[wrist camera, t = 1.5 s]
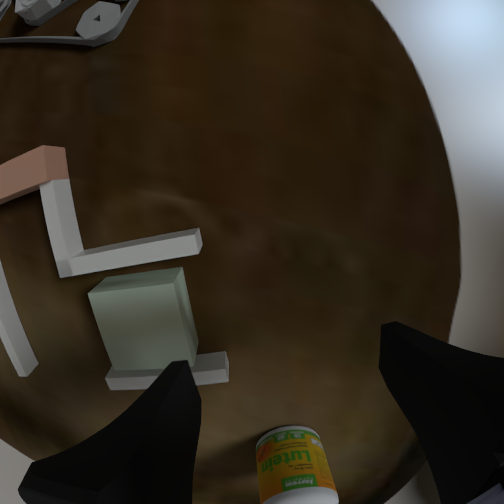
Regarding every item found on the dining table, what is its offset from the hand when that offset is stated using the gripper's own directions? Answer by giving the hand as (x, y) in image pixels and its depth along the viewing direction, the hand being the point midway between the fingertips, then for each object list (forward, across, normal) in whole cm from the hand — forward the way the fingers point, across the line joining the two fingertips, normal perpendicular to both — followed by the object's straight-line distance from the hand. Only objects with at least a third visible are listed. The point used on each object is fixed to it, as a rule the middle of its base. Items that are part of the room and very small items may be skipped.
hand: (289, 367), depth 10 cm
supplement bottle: (+8, 0, +14) cm, 16 cm away
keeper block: (+8, +7, 0) cm, 11 cm away
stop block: (+8, +15, -10) cm, 20 cm away
